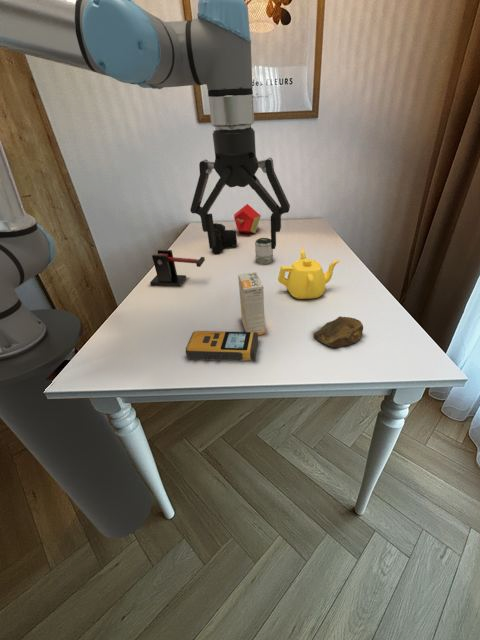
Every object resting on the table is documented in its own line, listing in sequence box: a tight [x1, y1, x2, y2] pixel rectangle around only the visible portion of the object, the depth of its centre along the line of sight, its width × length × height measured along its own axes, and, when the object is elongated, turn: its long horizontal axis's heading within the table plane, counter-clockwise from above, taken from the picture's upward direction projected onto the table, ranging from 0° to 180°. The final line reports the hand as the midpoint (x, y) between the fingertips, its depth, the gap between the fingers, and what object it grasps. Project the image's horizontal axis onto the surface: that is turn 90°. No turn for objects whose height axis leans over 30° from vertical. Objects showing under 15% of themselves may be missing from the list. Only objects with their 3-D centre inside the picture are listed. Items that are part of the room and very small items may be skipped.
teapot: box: [277, 248, 341, 300], centre depth 91 cm, size 14×13×10 cm
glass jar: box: [254, 237, 274, 265], centre depth 110 cm, size 6×6×8 cm
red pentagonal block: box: [233, 203, 262, 234], centre depth 134 cm, size 12×12×15 cm
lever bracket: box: [149, 249, 187, 288], centre depth 99 cm, size 10×6×10 cm, turn 82°
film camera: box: [211, 222, 238, 255], centre depth 122 cm, size 15×10×9 cm, turn 1°
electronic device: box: [185, 330, 259, 362], centre depth 71 cm, size 8×16×3 cm, turn 85°
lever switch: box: [157, 253, 206, 268], centre depth 96 cm, size 14×5×2 cm, turn 82°
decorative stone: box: [312, 316, 364, 349], centre depth 74 cm, size 10×9×4 cm
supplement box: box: [237, 272, 266, 336], centre depth 76 cm, size 8×5×13 cm, turn 12°
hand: (243, 246), depth 68 cm, fingers open, 13 cm apart
